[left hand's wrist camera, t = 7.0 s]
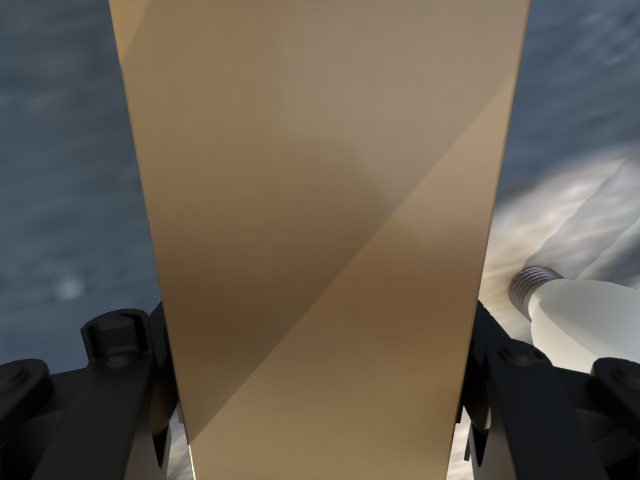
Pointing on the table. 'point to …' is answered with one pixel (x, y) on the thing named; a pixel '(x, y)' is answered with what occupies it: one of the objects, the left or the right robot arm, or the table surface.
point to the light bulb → (578, 318)
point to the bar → (319, 219)
